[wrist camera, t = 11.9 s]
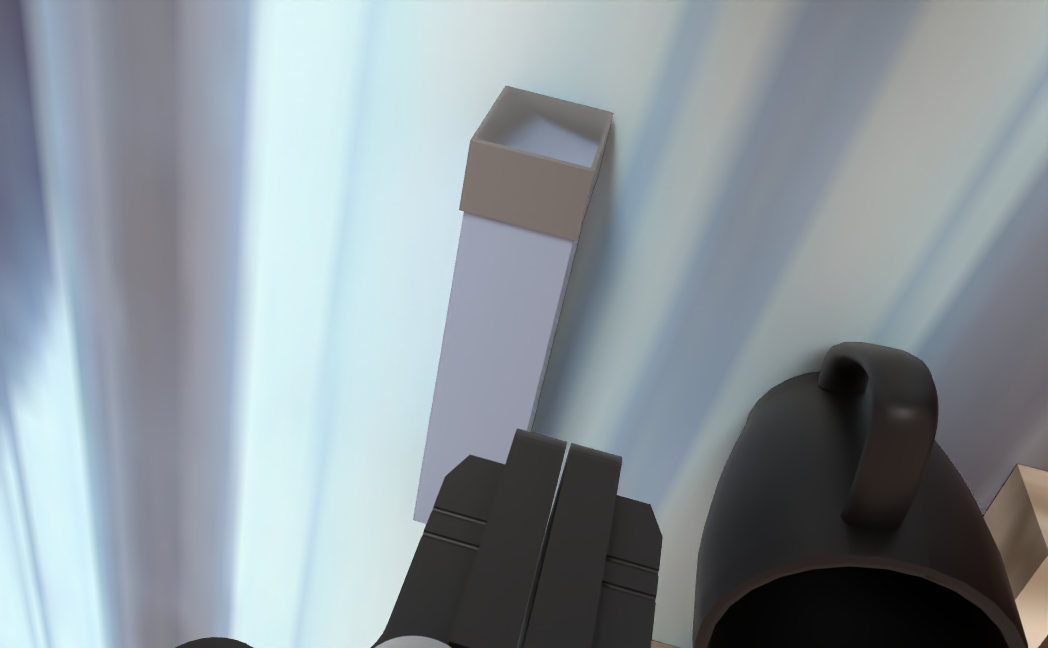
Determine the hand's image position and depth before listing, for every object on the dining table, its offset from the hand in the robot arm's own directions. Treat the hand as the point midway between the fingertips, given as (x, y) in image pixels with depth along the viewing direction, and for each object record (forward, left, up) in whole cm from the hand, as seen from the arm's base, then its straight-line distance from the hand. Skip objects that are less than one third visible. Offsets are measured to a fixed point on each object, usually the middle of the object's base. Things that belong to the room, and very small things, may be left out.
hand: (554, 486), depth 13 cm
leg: (+8, -3, -16) cm, 18 cm away
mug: (+8, +8, -17) cm, 21 cm away
